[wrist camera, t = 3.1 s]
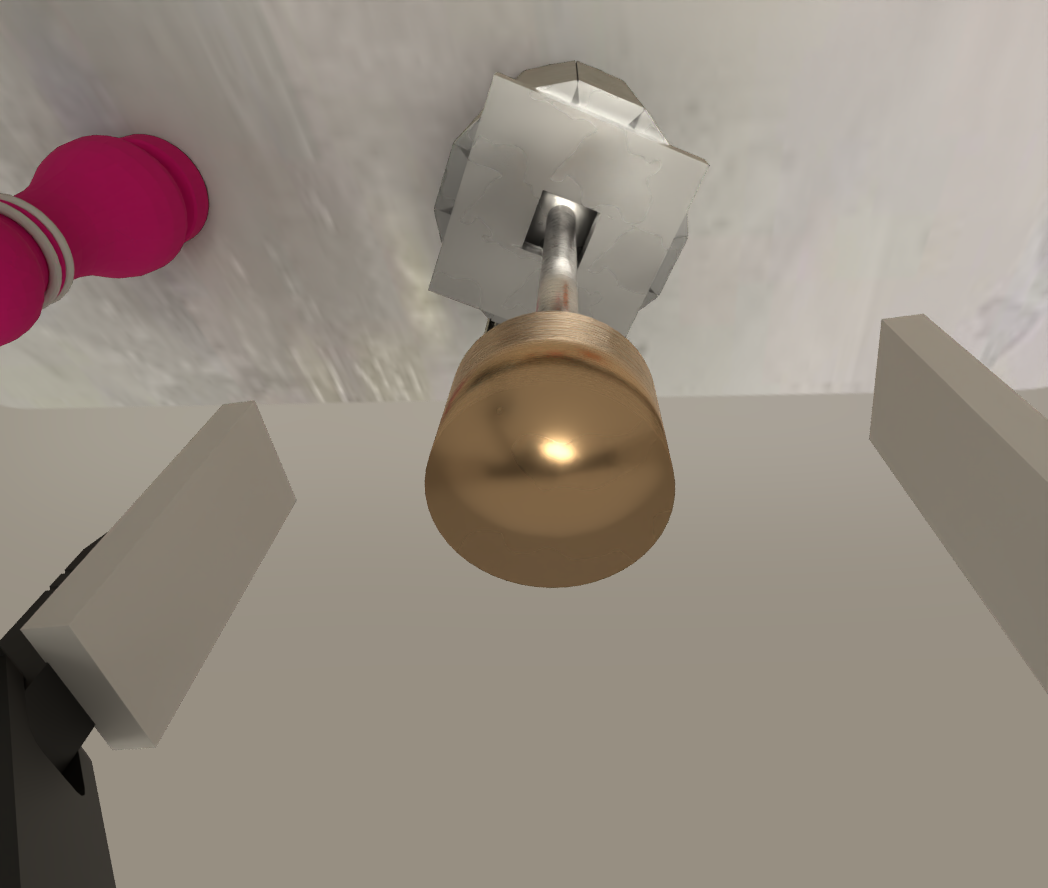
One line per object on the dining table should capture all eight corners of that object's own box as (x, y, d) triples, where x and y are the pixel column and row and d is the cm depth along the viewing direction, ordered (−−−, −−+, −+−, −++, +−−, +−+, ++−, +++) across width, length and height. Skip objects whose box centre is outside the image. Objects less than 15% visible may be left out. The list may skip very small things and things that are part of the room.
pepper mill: (203, 271, 44) (-30, 435, 27) (87, 217, 42) (-238, 354, 25) (230, 162, 40) (-20, 272, 23) (104, 99, 39) (-261, 168, 22)
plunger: (455, 262, 30) (310, 575, 14) (509, 91, 27) (405, 227, 10) (605, 319, 31) (645, 676, 15) (678, 162, 28) (846, 396, 11)
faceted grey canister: (439, 262, 42) (386, 361, 30) (510, 31, 36) (479, 40, 24) (589, 319, 44) (596, 435, 32) (685, 106, 37) (740, 151, 25)
